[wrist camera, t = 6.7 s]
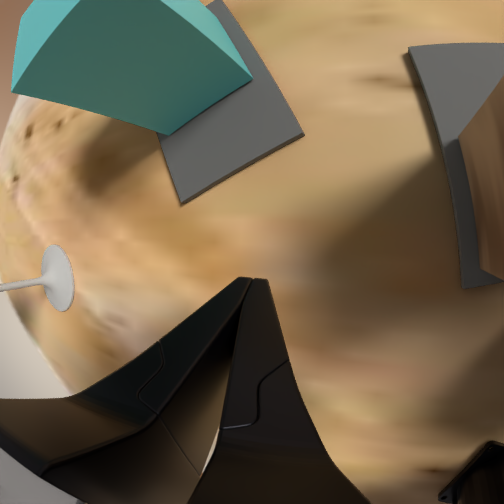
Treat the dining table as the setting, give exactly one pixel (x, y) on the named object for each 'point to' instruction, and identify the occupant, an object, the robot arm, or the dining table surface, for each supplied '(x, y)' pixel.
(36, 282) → the wineglass
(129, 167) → the dining table surface
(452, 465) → the dining table surface
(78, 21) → the teal block
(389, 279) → the dining table surface
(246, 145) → the dark gray pads
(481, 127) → the walnut block
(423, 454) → the dining table surface
